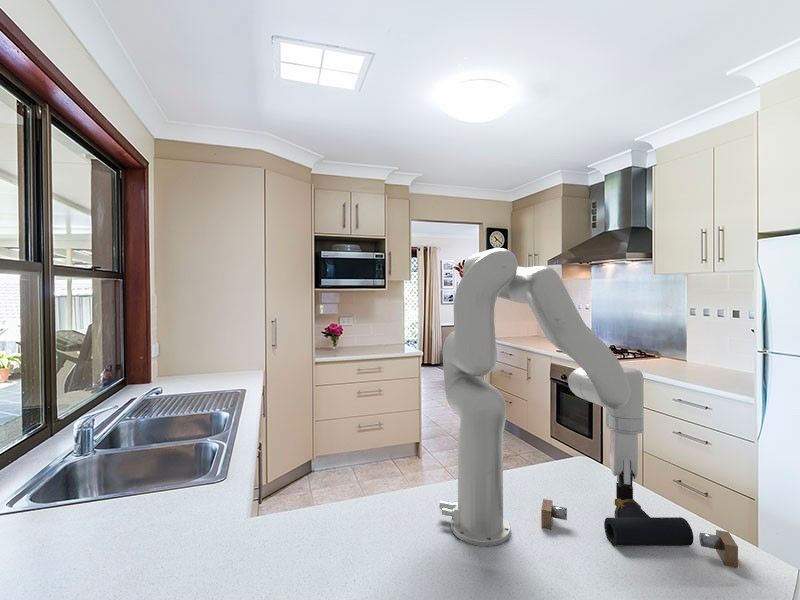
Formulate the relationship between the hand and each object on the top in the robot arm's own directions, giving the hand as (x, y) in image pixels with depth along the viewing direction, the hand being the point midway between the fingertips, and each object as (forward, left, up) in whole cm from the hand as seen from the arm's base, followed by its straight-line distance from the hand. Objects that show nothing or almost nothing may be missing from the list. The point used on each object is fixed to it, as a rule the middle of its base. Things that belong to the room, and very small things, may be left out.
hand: (624, 502), depth 94 cm
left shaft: (-15, -11, -3) cm, 18 cm away
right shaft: (+14, -11, -3) cm, 18 cm away
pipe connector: (+2, -8, -3) cm, 8 cm away
